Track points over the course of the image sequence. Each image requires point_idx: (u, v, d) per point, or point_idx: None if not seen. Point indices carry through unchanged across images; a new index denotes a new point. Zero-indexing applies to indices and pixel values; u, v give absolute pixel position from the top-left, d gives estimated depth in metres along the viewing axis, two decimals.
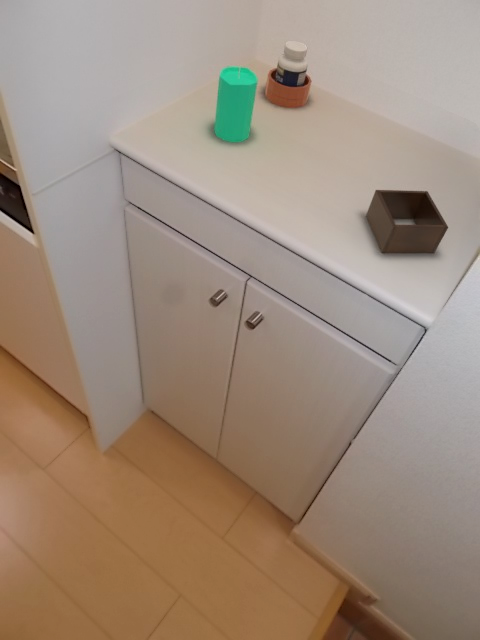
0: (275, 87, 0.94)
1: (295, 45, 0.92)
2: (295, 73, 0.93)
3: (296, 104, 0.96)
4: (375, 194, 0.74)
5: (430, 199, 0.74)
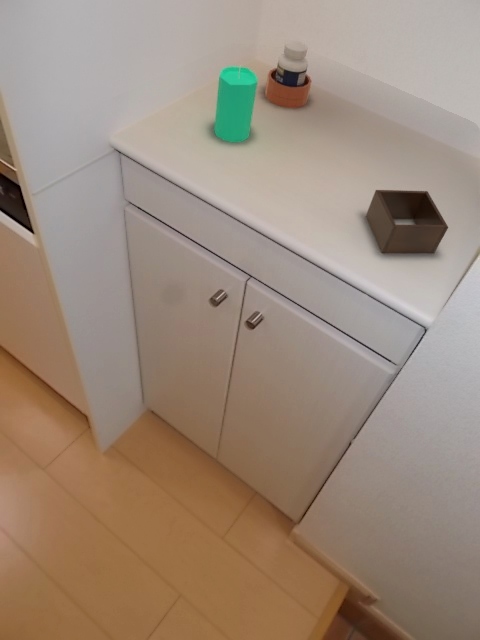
0: (275, 87, 0.94)
1: (295, 45, 0.92)
2: (295, 73, 0.93)
3: (296, 104, 0.96)
4: (375, 194, 0.74)
5: (430, 199, 0.74)
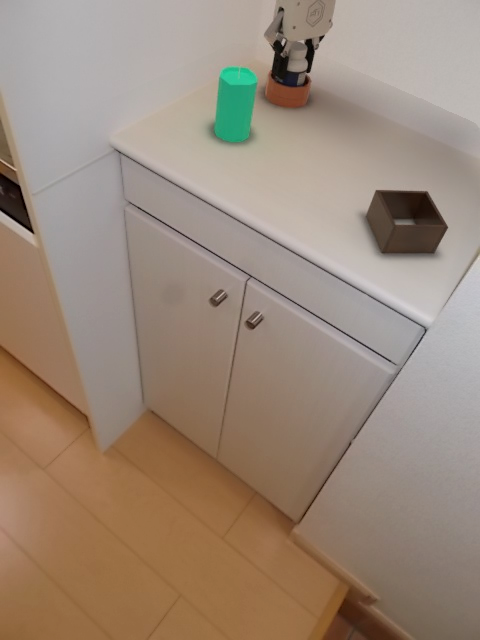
0: (275, 87, 0.94)
1: (295, 45, 0.92)
2: (295, 73, 0.93)
3: (296, 104, 0.96)
4: (375, 194, 0.74)
5: (430, 199, 0.74)
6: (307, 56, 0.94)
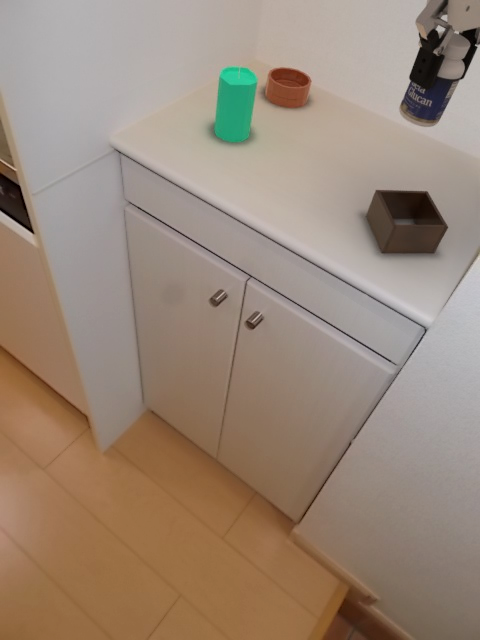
0: (275, 87, 0.94)
1: (452, 39, 0.60)
2: (448, 80, 0.61)
3: (296, 104, 0.96)
4: (375, 194, 0.74)
5: (430, 199, 0.74)
6: None
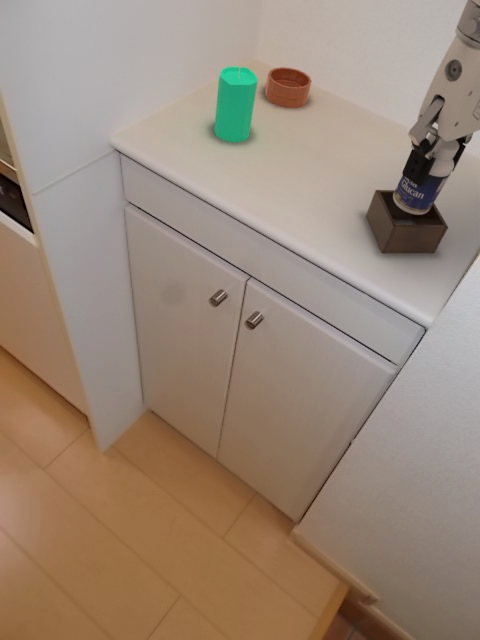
0: (275, 87, 0.94)
1: None
2: (438, 178, 0.66)
3: (296, 104, 0.96)
4: (375, 194, 0.74)
5: None
6: None
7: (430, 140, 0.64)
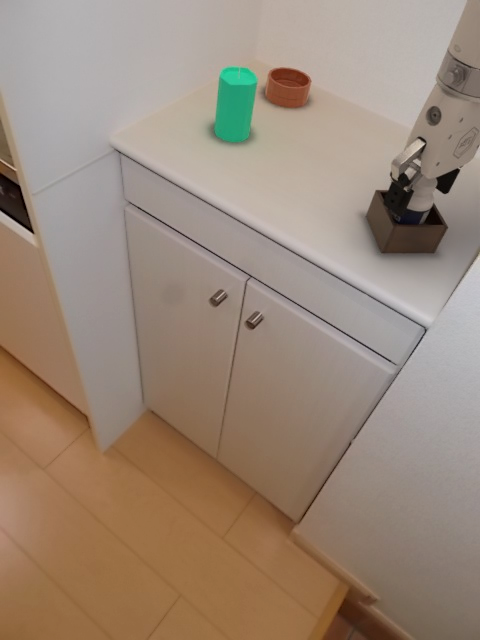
0: (275, 87, 0.94)
1: (421, 178, 0.69)
2: (419, 212, 0.70)
3: (296, 104, 0.96)
4: (375, 194, 0.74)
5: None
6: (448, 175, 0.71)
7: (409, 178, 0.69)
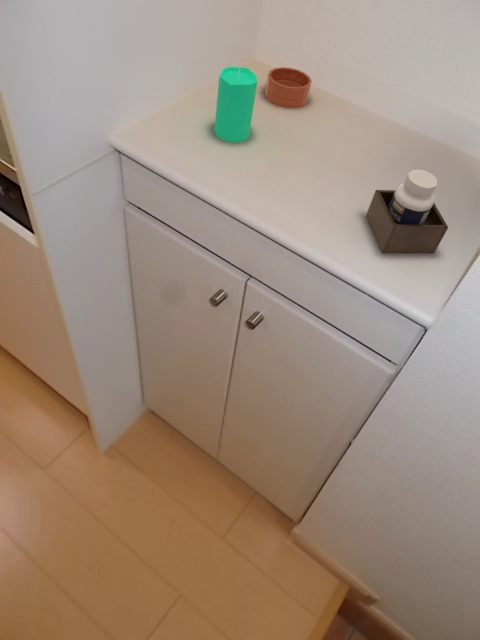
0: (275, 87, 0.94)
1: (421, 178, 0.69)
2: (419, 212, 0.70)
3: (296, 104, 0.96)
4: (375, 194, 0.74)
5: None
6: None
7: (409, 178, 0.69)
